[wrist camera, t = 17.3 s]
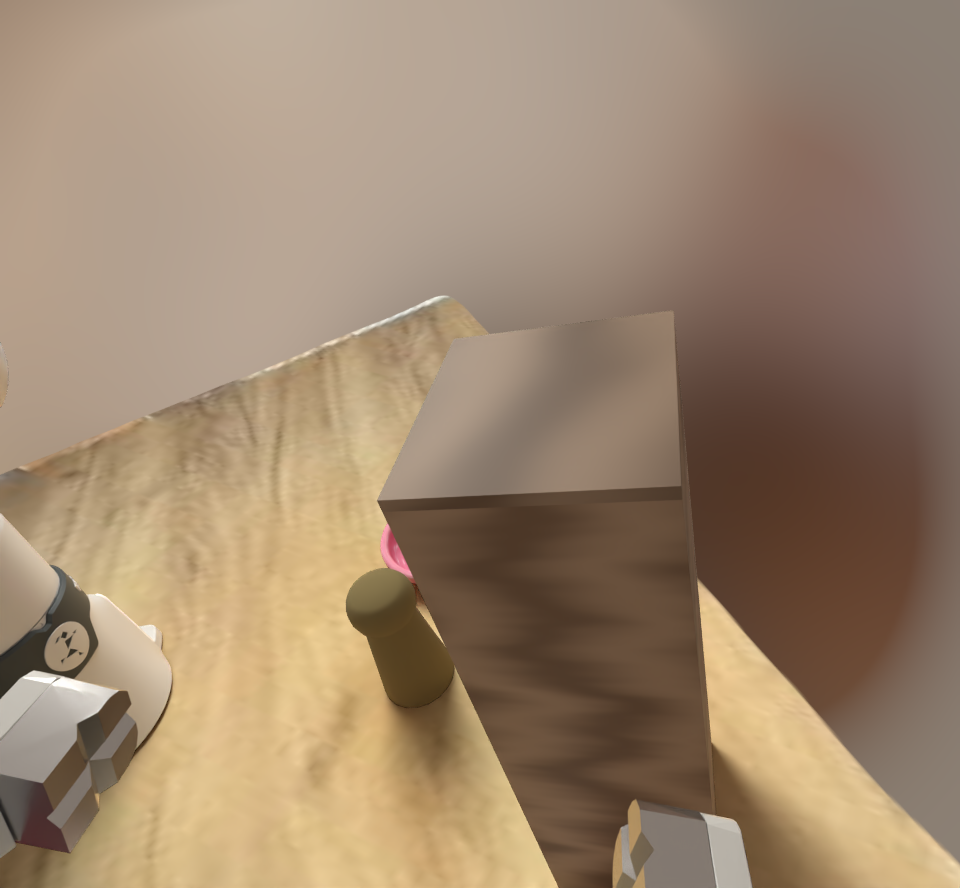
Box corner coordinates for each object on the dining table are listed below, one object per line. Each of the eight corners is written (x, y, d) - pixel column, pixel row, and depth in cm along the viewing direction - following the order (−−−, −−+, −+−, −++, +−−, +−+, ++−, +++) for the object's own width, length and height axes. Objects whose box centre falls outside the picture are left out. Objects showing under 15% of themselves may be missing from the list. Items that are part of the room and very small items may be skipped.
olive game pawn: (377, 661, 55) (328, 576, 49) (442, 631, 56) (402, 544, 50) (393, 720, 50) (340, 634, 44) (463, 687, 51) (422, 597, 45)
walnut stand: (561, 893, 38) (377, 500, 20) (577, 731, 46) (453, 338, 27) (722, 918, 35) (680, 485, 17) (711, 741, 43) (673, 310, 25)
